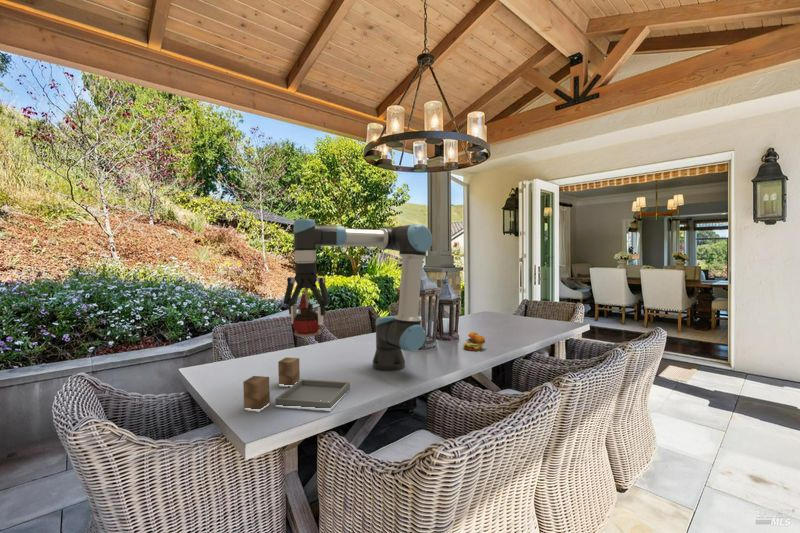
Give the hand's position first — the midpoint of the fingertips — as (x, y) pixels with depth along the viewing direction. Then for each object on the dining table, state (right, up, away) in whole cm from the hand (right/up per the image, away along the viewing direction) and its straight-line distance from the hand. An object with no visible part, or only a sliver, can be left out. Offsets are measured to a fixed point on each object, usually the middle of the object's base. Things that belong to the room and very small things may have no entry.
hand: (307, 323), depth 138 cm
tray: (+3, -27, +1) cm, 27 cm away
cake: (0, -4, 0) cm, 4 cm away
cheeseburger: (+73, -24, +67) cm, 102 cm away
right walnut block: (-11, -27, +15) cm, 32 cm away
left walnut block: (-15, -28, -7) cm, 33 cm away
